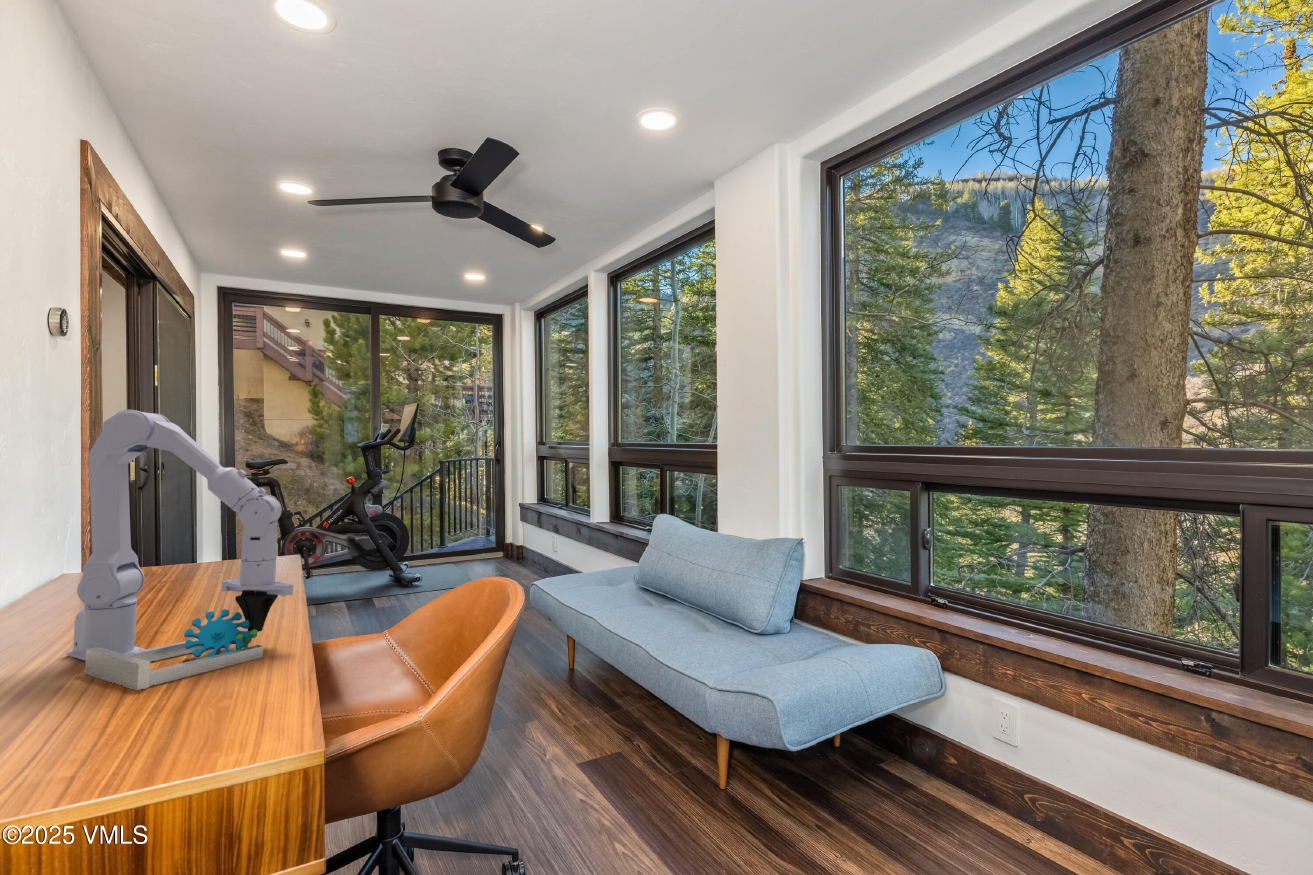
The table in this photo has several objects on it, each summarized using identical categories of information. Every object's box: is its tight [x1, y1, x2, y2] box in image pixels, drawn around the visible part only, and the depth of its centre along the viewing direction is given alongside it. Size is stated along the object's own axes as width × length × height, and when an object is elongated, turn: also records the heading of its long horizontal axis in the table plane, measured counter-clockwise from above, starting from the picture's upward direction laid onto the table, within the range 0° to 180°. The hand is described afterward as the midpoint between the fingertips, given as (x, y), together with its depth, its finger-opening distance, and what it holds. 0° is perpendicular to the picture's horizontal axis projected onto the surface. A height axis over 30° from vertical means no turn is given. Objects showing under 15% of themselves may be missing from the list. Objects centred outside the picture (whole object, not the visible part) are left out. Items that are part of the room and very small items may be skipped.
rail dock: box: [84, 638, 264, 692], centre depth 109 cm, size 16×20×4 cm
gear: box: [183, 608, 258, 659], centre depth 117 cm, size 11×6×10 cm
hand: (255, 631), depth 121 cm, fingers closed
